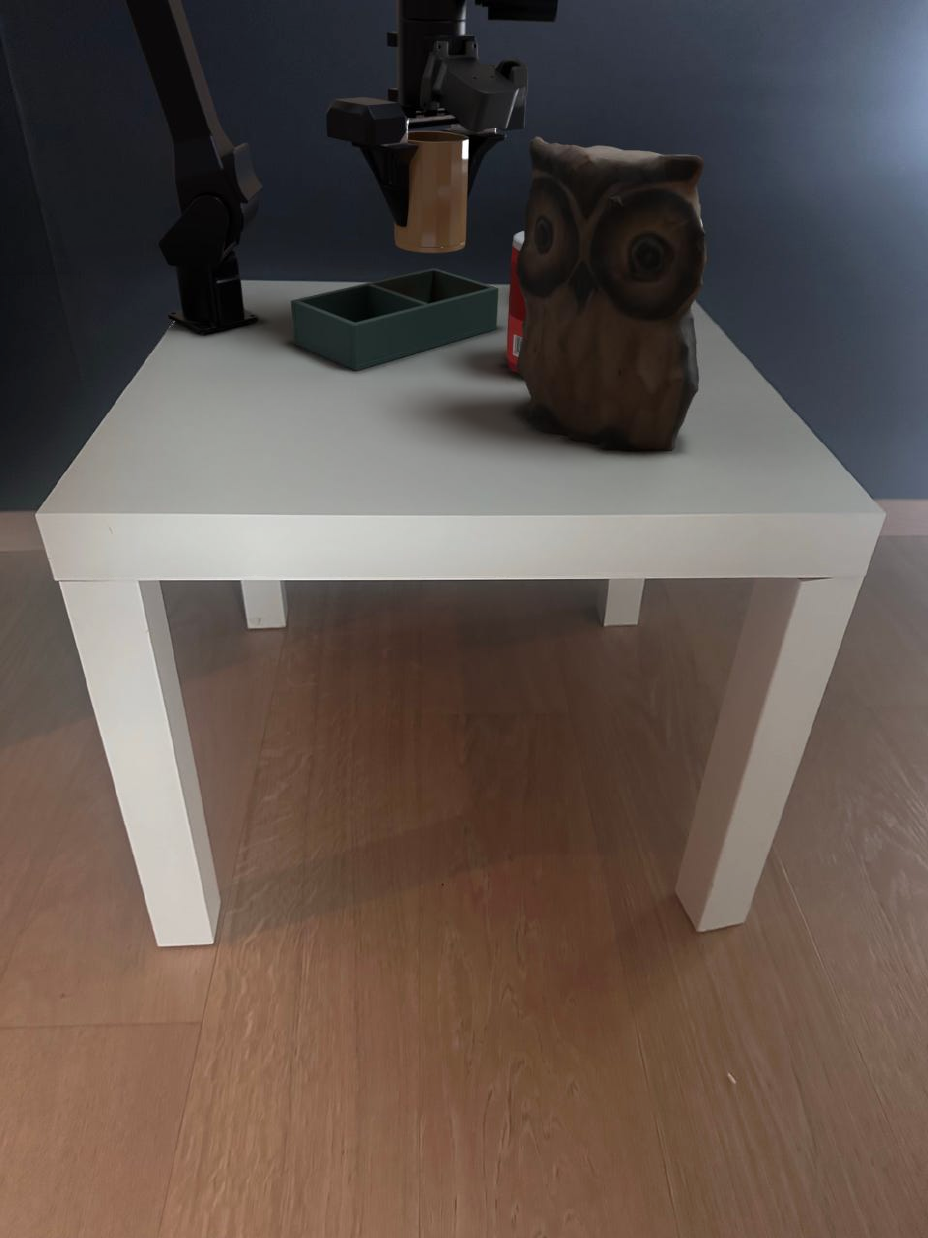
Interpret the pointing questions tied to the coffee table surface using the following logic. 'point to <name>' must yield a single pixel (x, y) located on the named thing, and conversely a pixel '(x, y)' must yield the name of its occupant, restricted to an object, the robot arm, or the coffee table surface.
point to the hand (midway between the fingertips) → (429, 220)
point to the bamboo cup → (436, 194)
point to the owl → (610, 293)
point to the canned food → (515, 307)
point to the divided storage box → (393, 317)
